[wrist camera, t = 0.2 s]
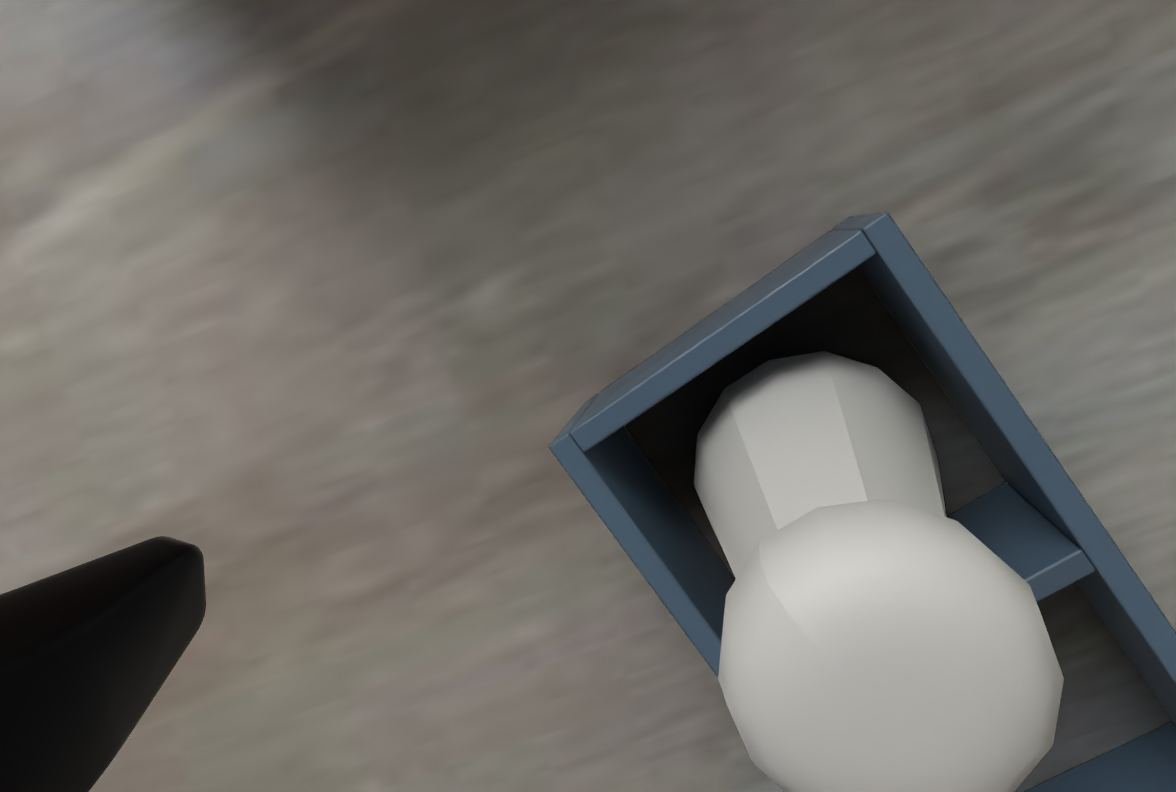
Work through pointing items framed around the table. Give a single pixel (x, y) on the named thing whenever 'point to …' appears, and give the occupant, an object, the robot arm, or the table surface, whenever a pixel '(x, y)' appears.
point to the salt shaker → (864, 595)
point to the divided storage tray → (998, 519)
